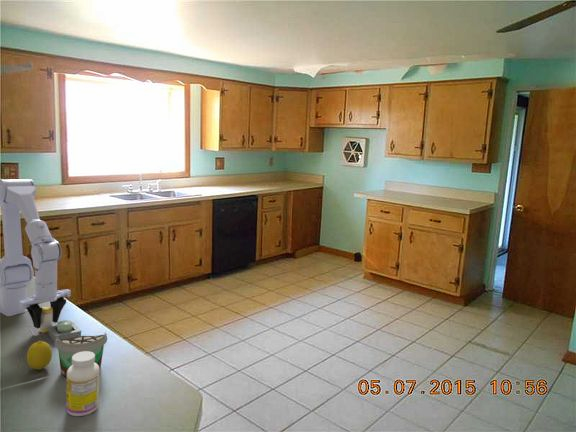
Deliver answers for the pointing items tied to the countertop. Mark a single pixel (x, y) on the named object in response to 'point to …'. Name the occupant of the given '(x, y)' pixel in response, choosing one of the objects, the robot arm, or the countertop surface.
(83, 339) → the food container
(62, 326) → the button
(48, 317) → the two-tone rounded cylinder
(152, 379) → the countertop surface
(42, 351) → the lemon
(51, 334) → the button housing
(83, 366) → the supplement bottle
